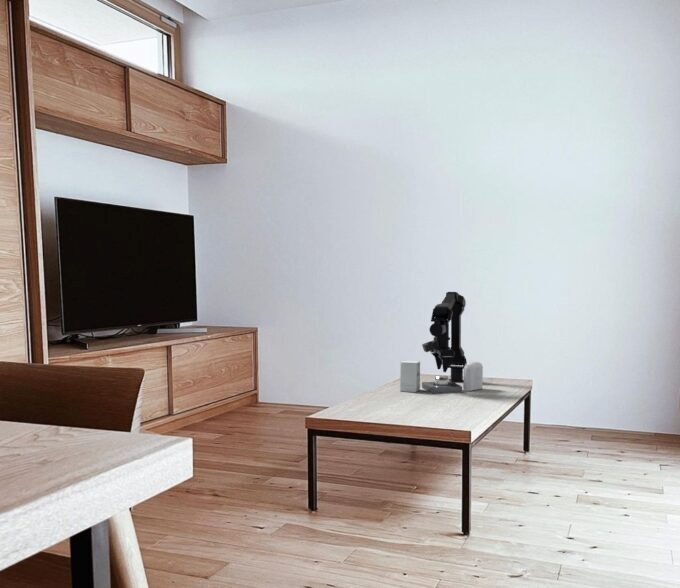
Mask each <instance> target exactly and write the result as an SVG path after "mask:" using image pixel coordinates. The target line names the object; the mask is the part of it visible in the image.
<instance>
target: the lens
mask: <svg viewBox="0 0 680 588" xmlns="http://www.w3.org/2000/svg"><path fill="white" fill-rule="evenodd" d="M448 379H449V376H447V375H440V374H439V375H435V376H434V382H435V385H438V386H448V382H449V380H448Z"/></svg>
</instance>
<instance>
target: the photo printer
mask: <svg viewBox="0 0 680 588" xmlns="http://www.w3.org/2000/svg"><path fill="white" fill-rule="evenodd" d="M483 369H484V366H483V364H482V363H481V362H480V361H474V360H473V361H472V360H471V361H470V362H467V364H466V365H465V366H464V369H463V380H464V382H463V385H462V389H463V391H465V392H471V391H472V392H473V391H476V390H482V389H483V380H484V379H483V373H484V370H483Z"/></svg>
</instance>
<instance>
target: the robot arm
mask: <svg viewBox="0 0 680 588" xmlns="http://www.w3.org/2000/svg"><path fill="white" fill-rule="evenodd" d="M466 305H467V302H466V298H465V297H464V296H463V295H461V294H459V292H457V291H447V292H446V293H445V297H444V298H443V300H442V301H441V303H437V304H436V305H434V307H433V309H432V315H431V319H430V322H431V323H432V322H433V323H432V324H431V325H430V327H429V333H430V334H431V336H432V337H433V340H430V341H426V342H425V343H422V344H421V346H422V349H423V352H425V353H429V352H430V354H431V355H432V356H433V357H434V359H435V365H436V368H437V370H441V369H442V372H443V373H447V370H448V369H450V378H448V381H449V382H454V383H459V382H460V383H461V382H464V366H465V365H466V364H467V363H468V362H467V359H466V356H465V351H464V350H463V348H462V346H461V345H462V340H461V338H462V334H461V333H462V315H463V313H464V311H465V308H466ZM450 335H451V336H450ZM449 336H450V337H449ZM449 341H450V342H449ZM449 343H450V344H449Z"/></svg>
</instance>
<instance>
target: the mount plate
mask: <svg viewBox="0 0 680 588" xmlns="http://www.w3.org/2000/svg"><path fill="white" fill-rule="evenodd" d="M421 388H422V389H423V390H425V391H426V392H428V393H429V394H447V393H449V394H452V393H453V394H454V393H455V394H456V393H459V394H460V393H463V385H462V386H461V385H460V384H458V383H457V382H451V381H448V386H438V385H435V381H422V382H421Z"/></svg>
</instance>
